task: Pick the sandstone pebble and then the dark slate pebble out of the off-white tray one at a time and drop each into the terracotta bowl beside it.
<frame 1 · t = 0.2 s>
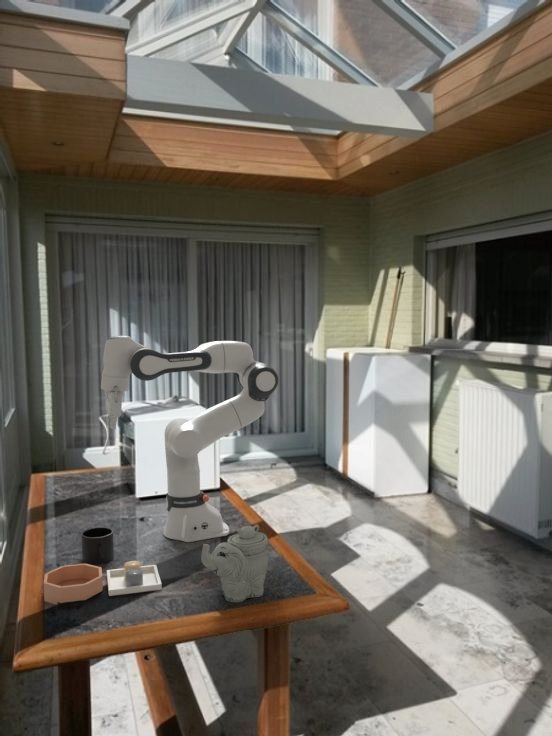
hand: (111, 426, 213), 39 cm above the table, tool pointing down, fingers open, 8 cm apart
slate pebble: (134, 586, 179), point 1 cm above the table, touching tray
teapot: (235, 595, 176), on the table
tray: (133, 585, 182), on the table
mug: (98, 563, 198), on the table
bowl: (74, 592, 177), on the table
sand pebble: (132, 577, 185), point 1 cm above the table, touching tray
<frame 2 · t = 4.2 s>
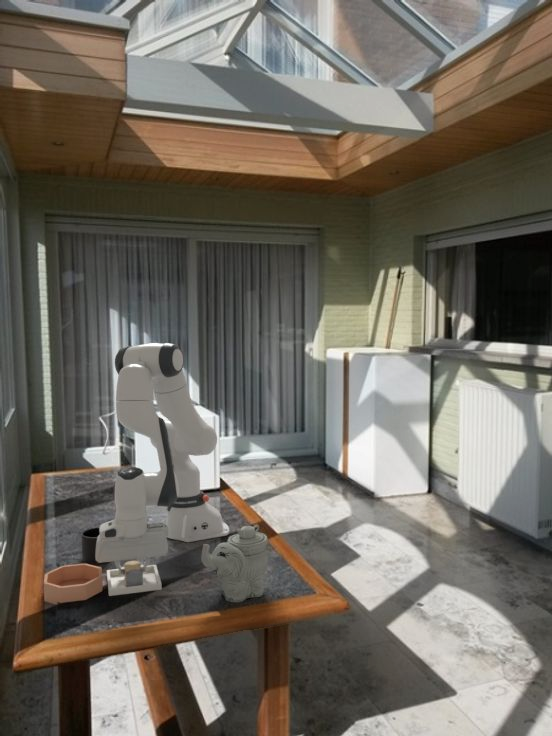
hand: (132, 573, 185), 2 cm above the table, tool pointing down, fingers closed on sand pebble, 5 cm apart
sand pebble: (132, 577, 185), point 1 cm above the table, touching gripper, tray
everything else where it was.
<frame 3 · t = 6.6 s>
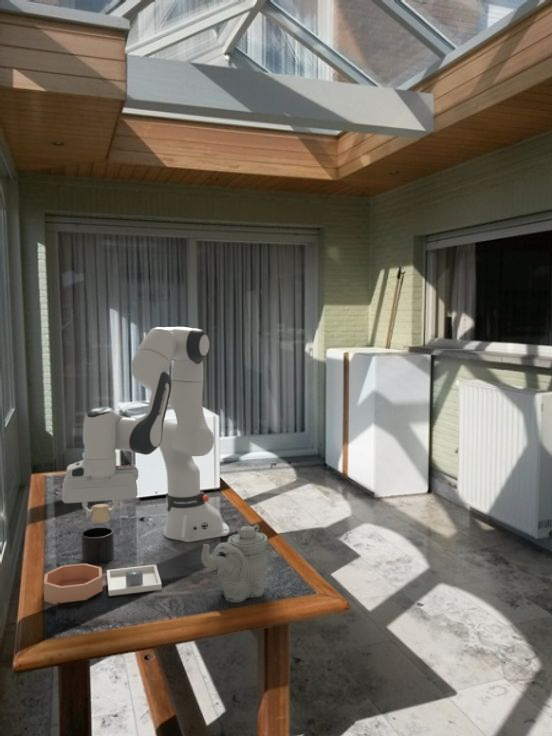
hand: (100, 516, 180), 20 cm above the table, tool pointing down, fingers closed on sand pebble, 5 cm apart
sand pebble: (100, 520, 180), point 19 cm above the table, touching gripper
everything else where it was.
when the fingers open (7 cm above the table, at t = 8.8 s): sand pebble drops 5 cm, resting on bowl.
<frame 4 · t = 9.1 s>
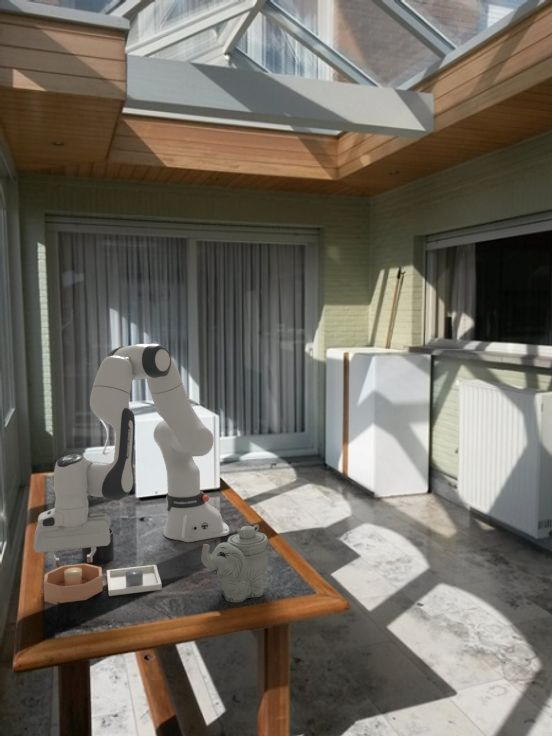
hand: (73, 563, 180), 7 cm above the table, tool pointing down, fingers open, 7 cm apart
sand pebble: (73, 584, 180), point 1 cm above the table, touching bowl
everything else where it was.
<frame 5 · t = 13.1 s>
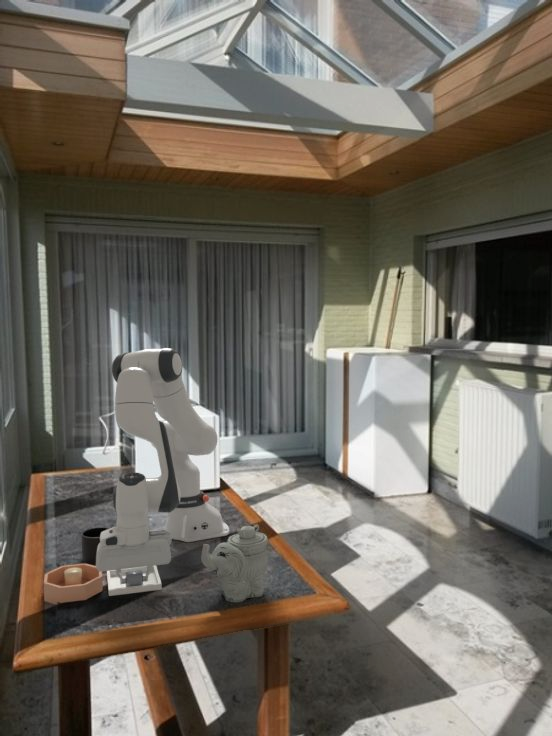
hand: (134, 582, 179), 2 cm above the table, tool pointing down, fingers closed on slate pebble, 5 cm apart
slate pebble: (134, 586, 179), point 1 cm above the table, touching gripper, tray
everything else where it was.
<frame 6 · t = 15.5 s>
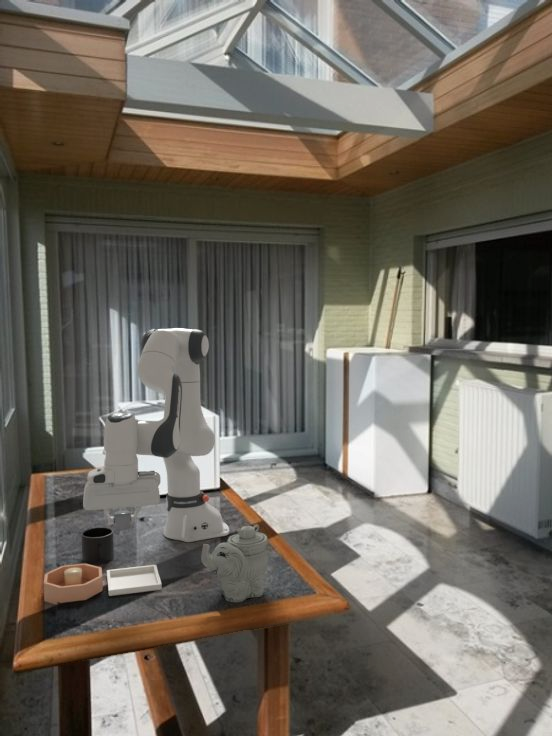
hand: (122, 522, 176), 19 cm above the table, tool pointing down, fingers closed on slate pebble, 5 cm apart
slate pebble: (122, 527, 176), point 18 cm above the table, touching gripper
everything else where it was.
when the fingers open (7 cm above the table, at t = 17.9 s): slate pebble drops 5 cm, resting on bowl.
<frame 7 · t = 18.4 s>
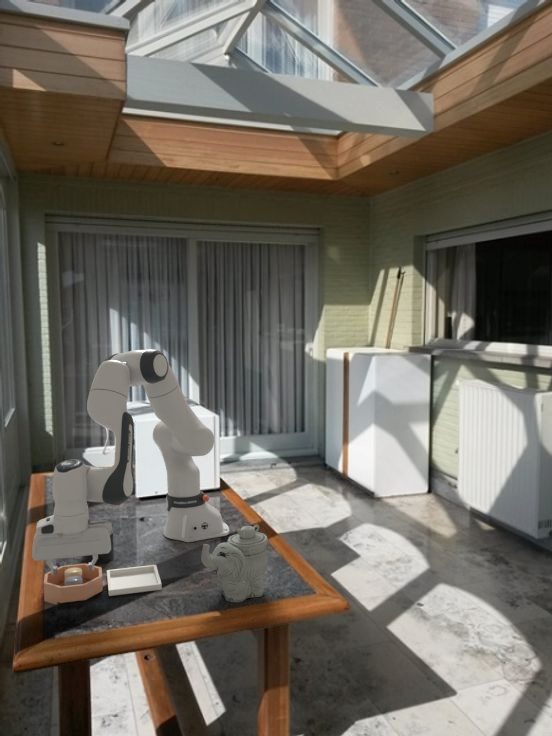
hand: (73, 571, 174), 7 cm above the table, tool pointing down, fingers open, 8 cm apart
slate pebble: (73, 593, 174), point 1 cm above the table, touching bowl
everything else where it was.
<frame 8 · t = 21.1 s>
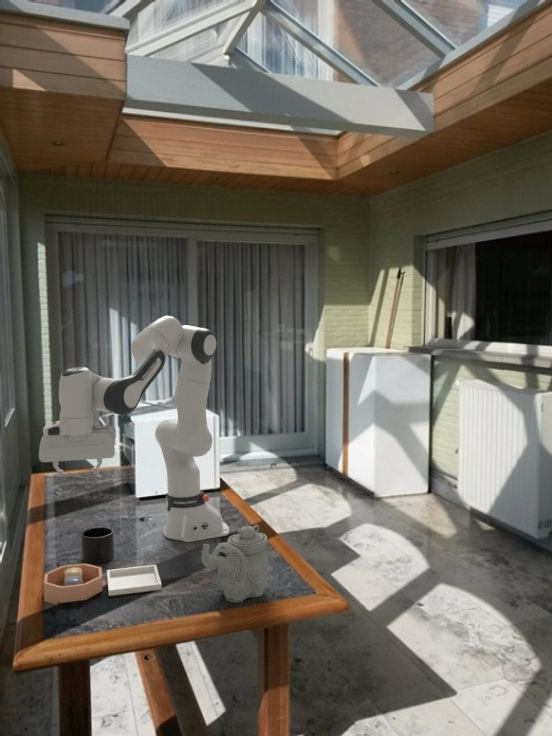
hand: (78, 475, 181), 31 cm above the table, tool pointing down, fingers open, 8 cm apart
nothing on the table moved.
at the end: sand pebble inside the target area on the bowl (2.9 cm from its centre), point 1.0 cm above the bowl's base; slate pebble inside the target area on the bowl (3.1 cm from its centre), point 1.0 cm above the bowl's base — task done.
